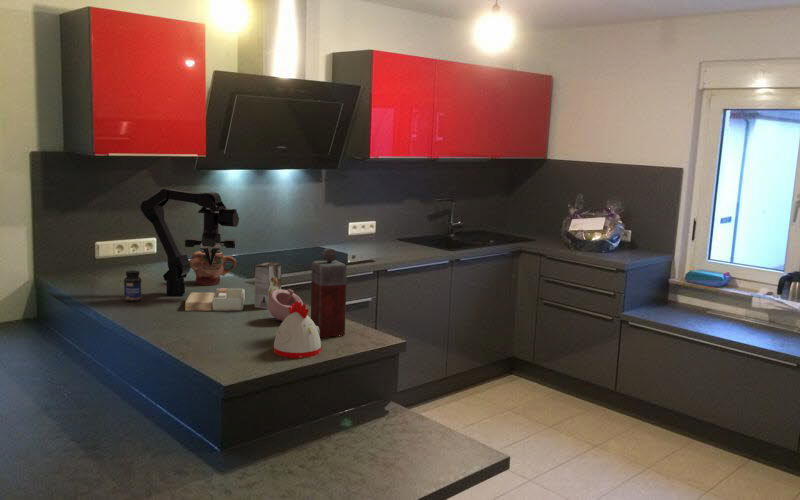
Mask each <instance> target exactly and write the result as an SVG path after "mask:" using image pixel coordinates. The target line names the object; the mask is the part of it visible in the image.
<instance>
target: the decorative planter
mask: <svg viewBox="0 0 800 500" xmlns="http://www.w3.org/2000/svg"><path fill="white" fill-rule="evenodd" d="M210 254H212V249H210ZM188 260H189V261H190V262H191V264H190V266H191V269H192V270H193V271H194V274H195V282H196V284H198V285H199V286H200V285H201V286H215V285H216V286H217V285H218V284H219V283H220V282H221V276H222V277H224V276H226V275H228V274H229V273H230V272H231V271H232V270H233V269H234V268H236V264H237V261H236V258H235V257H233V256H230V255H224V253H223V252H222V251H220V250H217V252H216V255H215V257H214V260H213V263H212V265H209V262H208V259H207V256H206V254H205V252H204V251H203V250H198V251H195V252H193V253H192V255H191V258H190V259H188ZM227 262H231V263H232V266H231V267H230V268H229V269H226V263H227Z"/></svg>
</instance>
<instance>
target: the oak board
mask: <svg viewBox="0 0 800 500" xmlns="http://www.w3.org/2000/svg"><path fill="white" fill-rule="evenodd" d="M213 298H216V292H204V291H203V292H195V291H191V292H190V293H189V295H188V297H187V299H186V300H185V302H184V303H185V304H184V307H185V309H184V310H185V311H186V312H187V311H188V312H189V311H191V312H192V311H198V312H199V311H200V312H202V311H204V312H205V311H210V312H211V311H213Z"/></svg>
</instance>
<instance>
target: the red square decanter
mask: <svg viewBox="0 0 800 500" xmlns="http://www.w3.org/2000/svg"><path fill="white" fill-rule="evenodd" d="M321 256H322V259H323V260H315V261H312V262H311V279H310V281H311V283H310V284H311V286H310V288H311V289H310V318H311V320H312V321H313V322H314V324H315V325H316V326H318V327H319V330H320V333H319V337H327V338H331V337H330V336H338V337H340V336H339V335H345V336H346V313H347V311H346V310H347V309H346V308H347V306H346V305H347V276H348V275H347V274H348V272H347V271H348V268H347V264H345V263H343V262H341V261H338V260H336V259H337V257H338V255H337V251H336V250H335V249H333V248H331V247H327V248H325V249H323V250H322V254H321Z"/></svg>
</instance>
